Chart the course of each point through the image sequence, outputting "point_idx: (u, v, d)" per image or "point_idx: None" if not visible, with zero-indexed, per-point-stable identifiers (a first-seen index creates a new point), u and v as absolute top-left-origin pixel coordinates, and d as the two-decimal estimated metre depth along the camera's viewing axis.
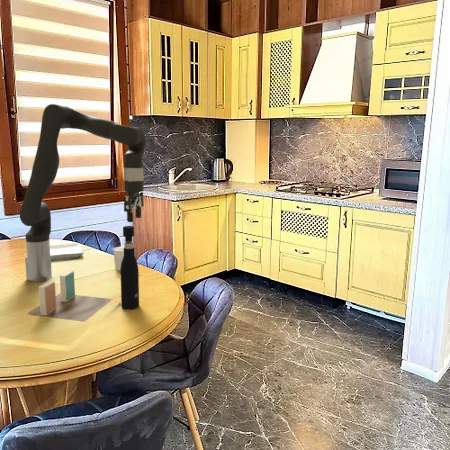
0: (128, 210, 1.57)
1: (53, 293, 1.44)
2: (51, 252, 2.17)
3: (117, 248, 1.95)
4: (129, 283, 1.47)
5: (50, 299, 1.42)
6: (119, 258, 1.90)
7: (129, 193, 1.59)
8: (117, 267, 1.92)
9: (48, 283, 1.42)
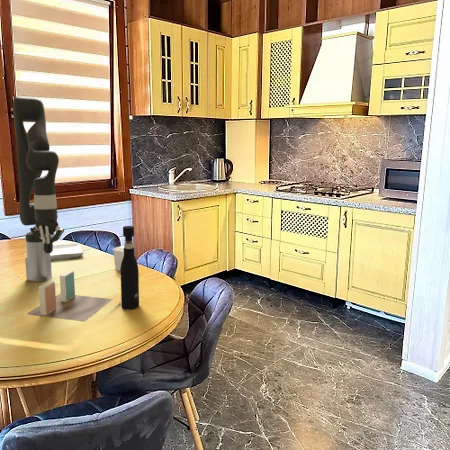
0: (56, 240, 1.52)
1: (53, 293, 1.44)
2: None
3: (117, 248, 1.95)
4: (129, 283, 1.47)
5: (50, 299, 1.42)
6: (119, 258, 1.90)
7: (55, 221, 1.49)
8: (117, 267, 1.92)
9: (48, 283, 1.42)
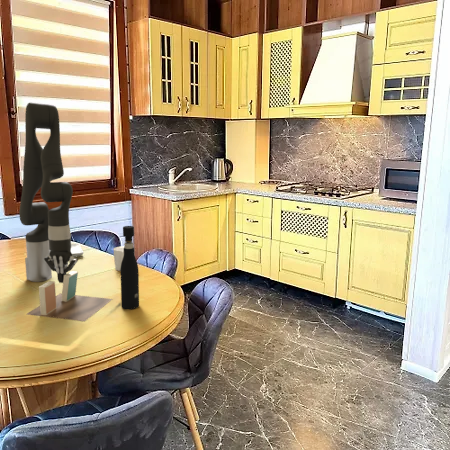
0: (69, 270, 1.53)
1: (53, 293, 1.44)
2: None
3: (117, 248, 1.95)
4: (129, 283, 1.47)
5: (50, 299, 1.42)
6: (119, 258, 1.90)
7: (69, 251, 1.50)
8: (117, 267, 1.92)
9: (48, 283, 1.42)
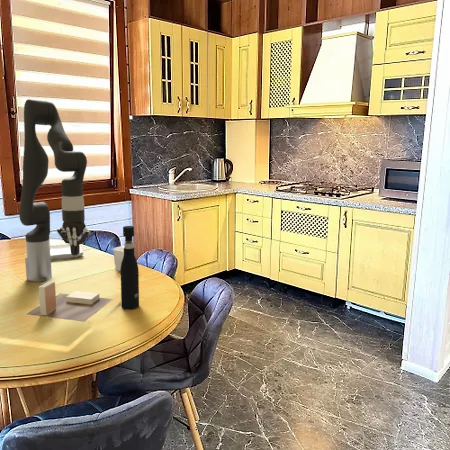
0: (83, 242, 1.50)
1: (53, 293, 1.44)
2: (51, 252, 2.17)
3: (117, 248, 1.95)
4: (129, 283, 1.47)
5: (50, 299, 1.42)
6: (119, 258, 1.90)
7: (82, 223, 1.47)
8: (117, 267, 1.92)
9: (48, 283, 1.42)
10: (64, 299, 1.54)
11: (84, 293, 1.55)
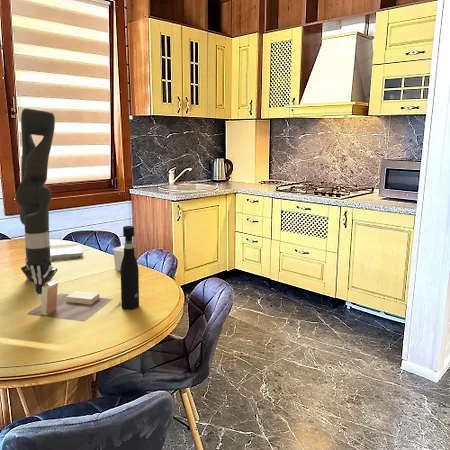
0: (48, 280, 1.41)
1: (55, 293, 1.43)
2: (51, 252, 2.17)
3: (117, 248, 1.95)
4: (129, 283, 1.47)
5: (51, 299, 1.42)
6: (119, 258, 1.90)
7: (47, 260, 1.39)
8: (117, 267, 1.92)
9: (51, 283, 1.42)
10: (64, 299, 1.54)
11: (84, 293, 1.55)
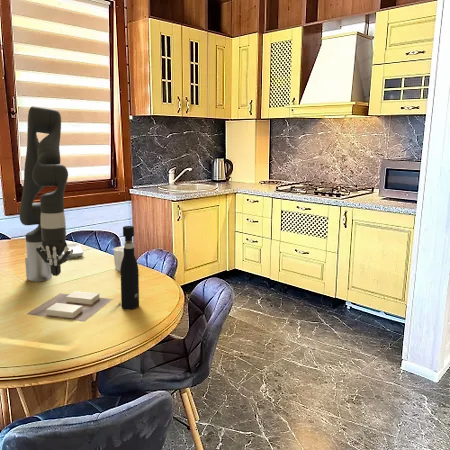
0: (64, 262, 1.39)
1: None
2: None
3: (117, 248, 1.95)
4: (129, 283, 1.47)
5: None
6: (119, 258, 1.90)
7: (63, 241, 1.36)
8: (117, 267, 1.92)
9: (78, 311, 1.42)
10: (64, 299, 1.54)
11: (84, 293, 1.55)
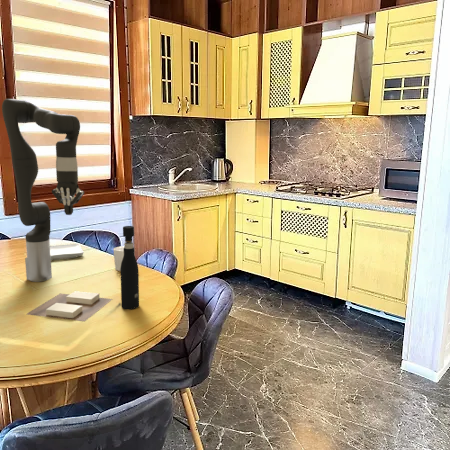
0: (76, 202, 1.58)
1: None
2: (51, 252, 2.17)
3: (117, 248, 1.95)
4: (129, 283, 1.47)
5: None
6: (119, 258, 1.90)
7: (76, 183, 1.55)
8: (117, 267, 1.92)
9: (78, 311, 1.42)
10: (64, 299, 1.54)
11: (84, 293, 1.55)
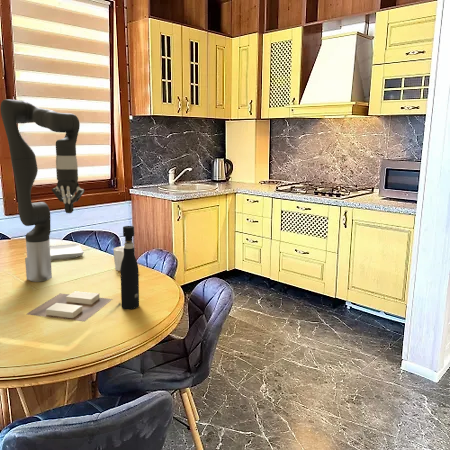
0: (76, 201, 1.58)
1: None
2: (51, 252, 2.17)
3: (117, 248, 1.95)
4: (129, 283, 1.47)
5: None
6: (119, 258, 1.90)
7: (76, 181, 1.55)
8: (117, 267, 1.92)
9: (78, 311, 1.42)
10: (64, 299, 1.54)
11: (84, 293, 1.55)
